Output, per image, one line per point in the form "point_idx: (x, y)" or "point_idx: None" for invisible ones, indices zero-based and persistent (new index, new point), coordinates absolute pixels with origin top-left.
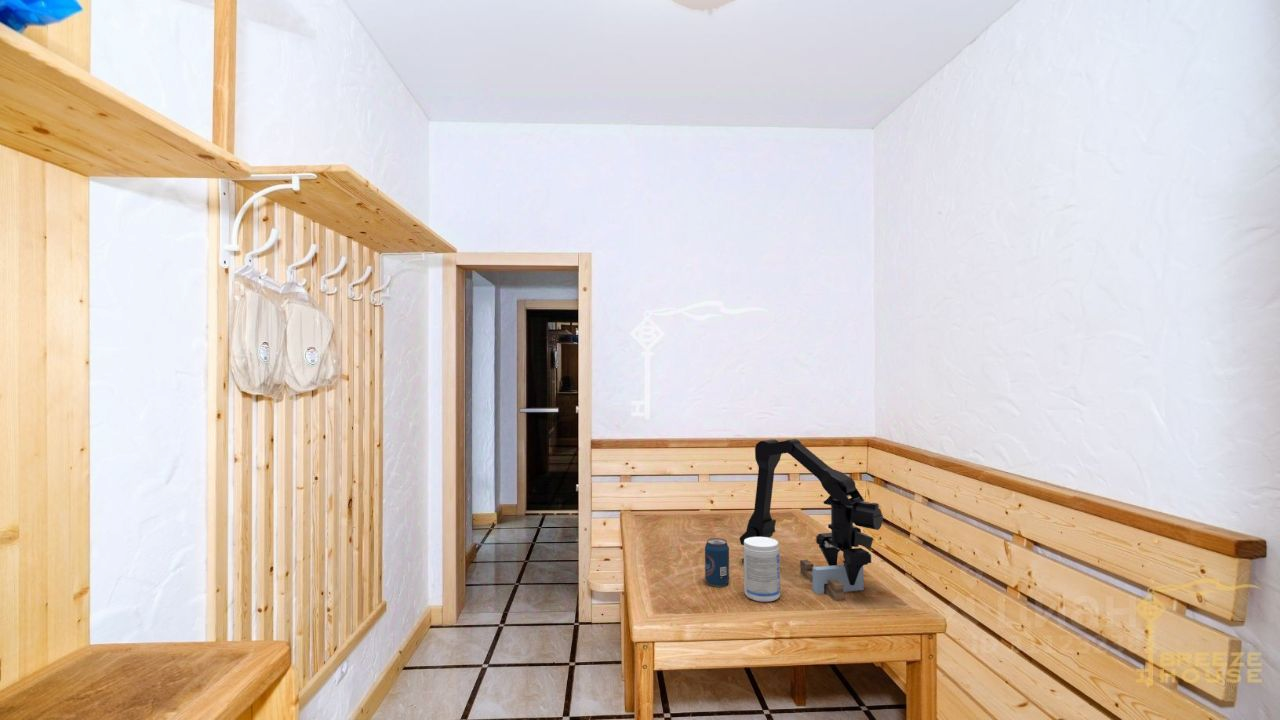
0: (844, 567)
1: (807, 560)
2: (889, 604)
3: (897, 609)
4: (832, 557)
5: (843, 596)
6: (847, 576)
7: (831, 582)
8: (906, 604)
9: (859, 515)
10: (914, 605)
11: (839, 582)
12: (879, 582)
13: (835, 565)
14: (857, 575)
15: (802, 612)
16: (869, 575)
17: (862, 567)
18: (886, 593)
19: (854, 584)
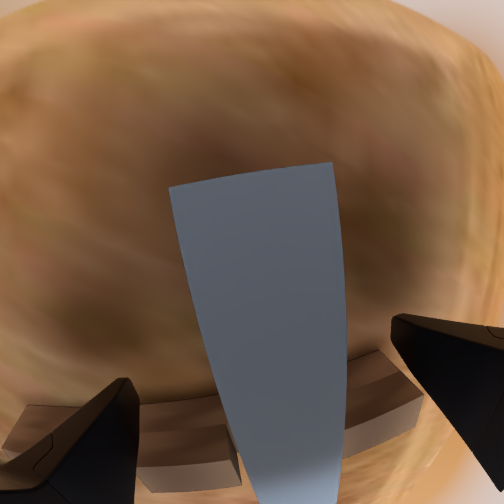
0: (330, 432)
1: (14, 454)
2: (443, 136)
3: (474, 137)
4: (101, 499)
5: (388, 359)
6: (429, 392)
7: (374, 445)
8: (435, 61)
9: None
10: (437, 40)
11: (393, 413)
12: (128, 24)
13: (257, 484)
14: (473, 326)
15: (408, 457)
16: (23, 62)
17: (328, 178)
18: (316, 57)
19: (404, 314)
